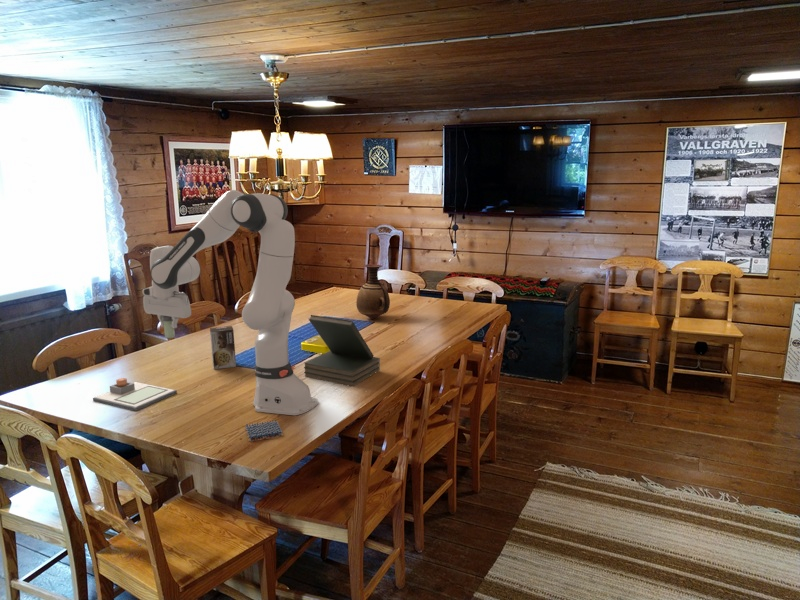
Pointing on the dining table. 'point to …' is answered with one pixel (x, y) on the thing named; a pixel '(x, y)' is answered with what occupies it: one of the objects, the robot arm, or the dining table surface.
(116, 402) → the cream board with holder
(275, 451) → the dining table surface
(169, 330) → the marker
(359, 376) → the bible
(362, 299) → the vase
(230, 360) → the coffee box
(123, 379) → the button
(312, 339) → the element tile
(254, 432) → the woven mat
